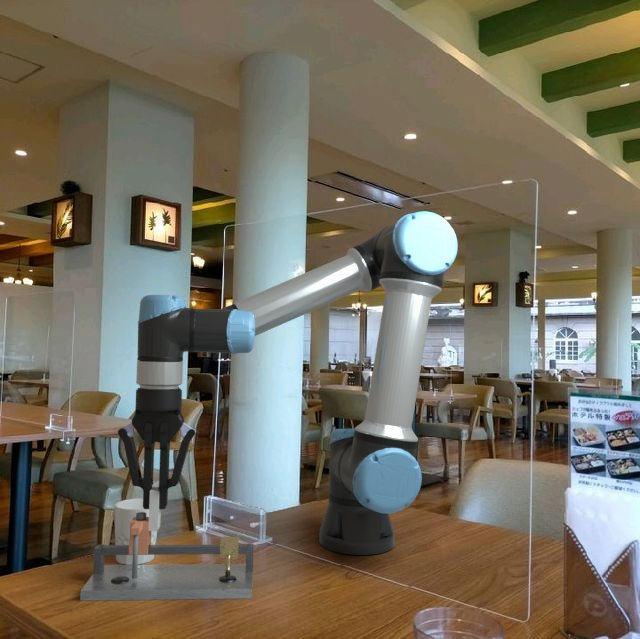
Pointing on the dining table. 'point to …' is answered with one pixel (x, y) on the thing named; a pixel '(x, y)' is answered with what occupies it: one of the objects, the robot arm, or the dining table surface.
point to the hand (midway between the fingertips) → (154, 528)
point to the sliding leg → (139, 539)
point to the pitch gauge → (172, 574)
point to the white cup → (122, 528)
